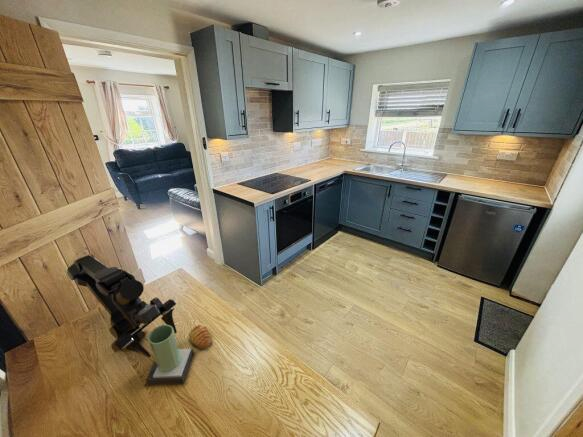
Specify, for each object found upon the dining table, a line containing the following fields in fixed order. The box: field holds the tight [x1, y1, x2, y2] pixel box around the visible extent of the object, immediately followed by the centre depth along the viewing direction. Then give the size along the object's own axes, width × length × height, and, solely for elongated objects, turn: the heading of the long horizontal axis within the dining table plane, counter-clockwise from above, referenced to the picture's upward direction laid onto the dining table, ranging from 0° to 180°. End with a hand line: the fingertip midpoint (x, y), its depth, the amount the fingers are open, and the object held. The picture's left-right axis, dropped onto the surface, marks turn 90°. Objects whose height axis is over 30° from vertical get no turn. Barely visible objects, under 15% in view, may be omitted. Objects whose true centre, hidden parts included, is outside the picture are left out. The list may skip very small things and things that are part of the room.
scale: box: [145, 348, 195, 386], centre depth 78 cm, size 11×10×3 cm
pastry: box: [188, 324, 212, 350], centre depth 87 cm, size 9×7×4 cm
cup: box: [147, 324, 181, 372], centre depth 74 cm, size 7×7×13 cm
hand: (163, 344), depth 74 cm, fingers open, 9 cm apart
